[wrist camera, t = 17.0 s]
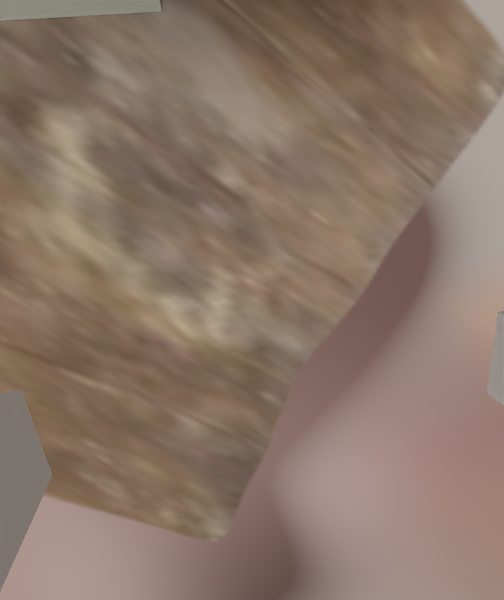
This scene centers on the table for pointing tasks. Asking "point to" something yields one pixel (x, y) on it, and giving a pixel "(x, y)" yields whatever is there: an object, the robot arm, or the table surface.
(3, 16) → the pale green tray
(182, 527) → the table surface
